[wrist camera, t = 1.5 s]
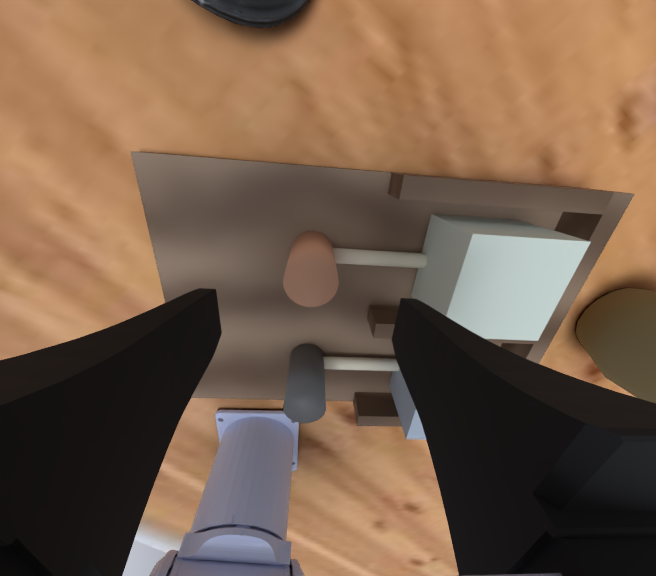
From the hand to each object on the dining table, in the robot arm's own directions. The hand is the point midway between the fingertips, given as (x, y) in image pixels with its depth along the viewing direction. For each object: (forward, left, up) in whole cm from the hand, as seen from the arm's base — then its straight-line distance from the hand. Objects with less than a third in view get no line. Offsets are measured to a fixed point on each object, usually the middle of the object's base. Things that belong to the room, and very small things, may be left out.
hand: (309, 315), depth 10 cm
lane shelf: (-5, -3, -9) cm, 11 cm away
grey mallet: (-9, -6, -8) cm, 14 cm away
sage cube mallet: (0, -6, -8) cm, 10 cm away
